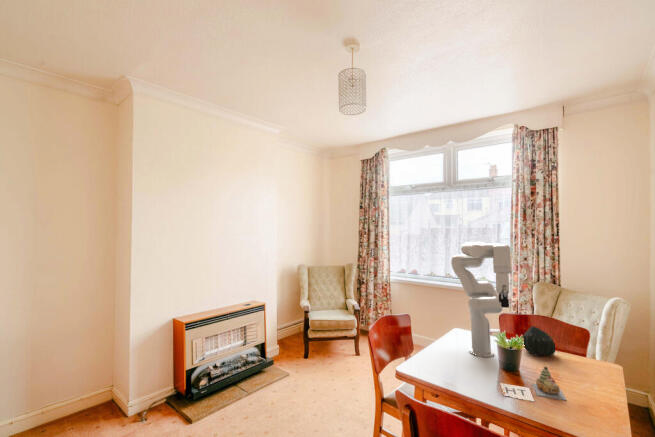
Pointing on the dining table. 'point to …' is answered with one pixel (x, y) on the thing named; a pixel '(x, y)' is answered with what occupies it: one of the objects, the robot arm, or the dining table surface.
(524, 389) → the tile
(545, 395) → the grey mat
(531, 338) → the squash
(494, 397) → the dining table surface
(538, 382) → the ornament
